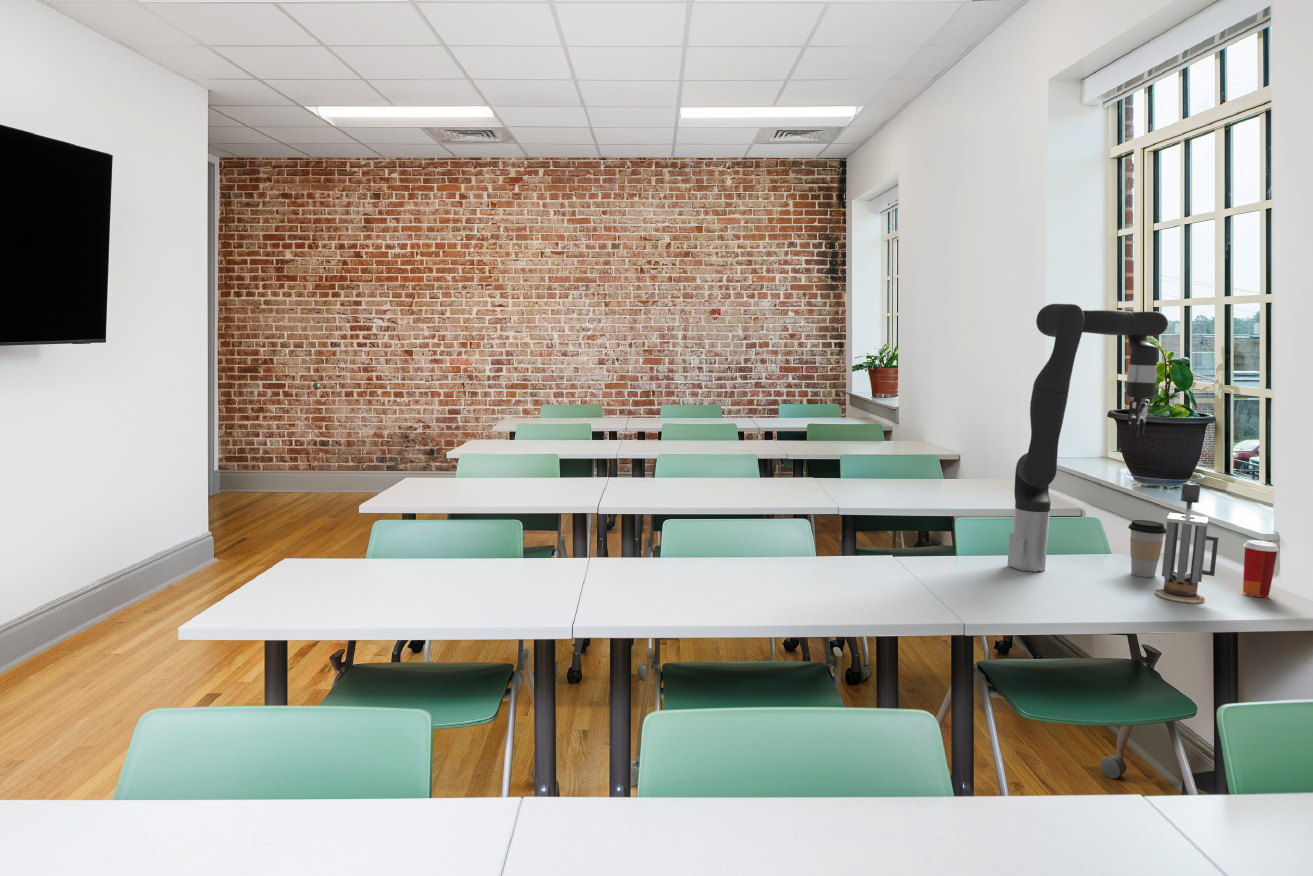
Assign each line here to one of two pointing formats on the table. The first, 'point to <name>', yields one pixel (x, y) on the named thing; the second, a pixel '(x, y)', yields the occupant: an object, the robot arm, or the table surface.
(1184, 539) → the press frame
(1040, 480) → the robot arm
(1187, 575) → the plunger
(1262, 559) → the paper cup
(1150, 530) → the coffee cup
